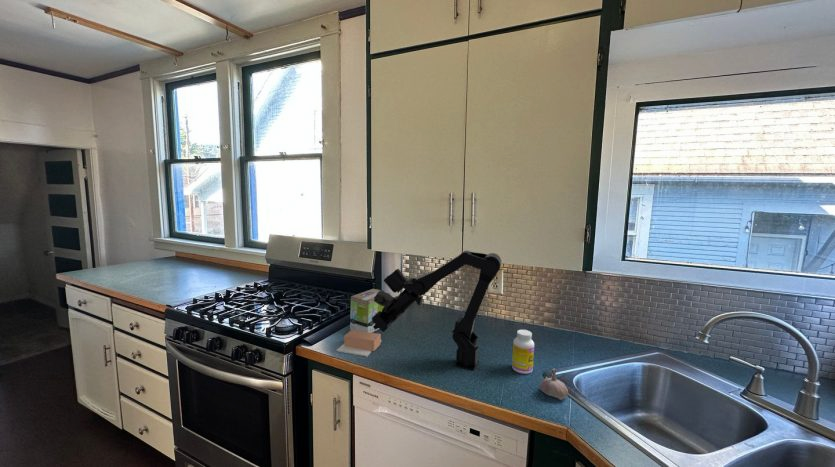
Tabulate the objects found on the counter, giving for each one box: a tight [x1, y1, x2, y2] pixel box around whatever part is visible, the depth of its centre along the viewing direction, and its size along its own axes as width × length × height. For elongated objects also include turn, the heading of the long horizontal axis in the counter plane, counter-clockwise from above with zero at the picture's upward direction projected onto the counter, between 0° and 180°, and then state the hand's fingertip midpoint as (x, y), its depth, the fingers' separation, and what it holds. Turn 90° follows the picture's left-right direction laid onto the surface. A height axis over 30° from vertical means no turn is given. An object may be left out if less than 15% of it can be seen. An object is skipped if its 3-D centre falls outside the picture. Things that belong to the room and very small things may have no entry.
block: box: [343, 330, 382, 352], centre depth 128 cm, size 4×6×12 cm
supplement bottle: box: [511, 329, 535, 375], centre depth 114 cm, size 7×7×13 cm
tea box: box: [349, 288, 391, 333], centre depth 146 cm, size 15×10×15 cm
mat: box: [336, 339, 382, 358], centre depth 129 cm, size 12×13×1 cm
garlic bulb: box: [539, 367, 569, 401], centre depth 100 cm, size 8×7×8 cm
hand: (374, 327), depth 126 cm, fingers closed
